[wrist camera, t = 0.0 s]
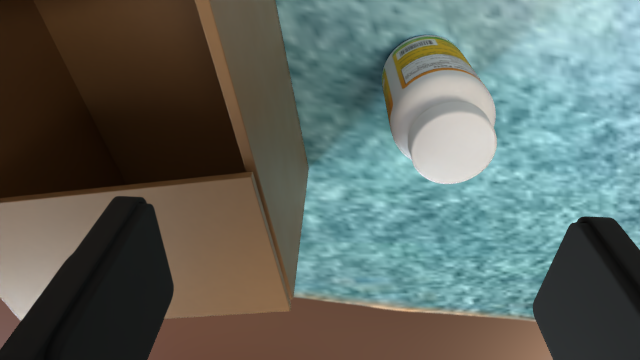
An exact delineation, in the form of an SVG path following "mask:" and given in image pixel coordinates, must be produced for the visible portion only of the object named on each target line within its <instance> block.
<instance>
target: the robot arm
mask: <svg viewBox="0 0 640 360" xmlns="http://www.w3.org/2000/svg"><path fill="white" fill-rule="evenodd" d="M173 292H174V284H173V280H172V276H171V272H170V268H169V264H168V260H167V256H166V252H165V248H164V244H163V241H162V237H161V233H160V229H159V225H158V221H157V217H156V213H155V209H154V207H153V205H152V204H147V202H146V200H145V199H144V198H143V197H131V196H116V197H114V198H113V199H112V201H111V202H110V203H109V205H108V206H107V207H106V209H105V210H104V212H103V213H102V214H101V216H100V217H99V218H98V220H97V221H96V223H95V224H94V225H93V227H92V228H91V229H90V231H89V232H88V234H87V235H86V236H85V238H84V239H83V240H82V242H81V243H80V245H79V246H78V247H77V249H76V250H75V251H74V253H73V254H72V255H70V256H69V257H68V259H67V260H66V261H65V262H64V263H63V265H62V266H61V267H60V269H59V270H58V272H57V273H56V274H55V276H54V277H53V278H52V280H51V281H50V282H49V284H48V285H47V287H46V288H45V289H44V291H43V292H42V293H41V295H40V296H39V297H38V299H37V300H36V302H35V303H34V304H33V306H32V307H31V308H30V310H29V311H28V312H27V314H26V315H25V317H24V318H23V319H22V321H21V322H20V323H19V325H18V326H17V328H16V329H15V330H14V332H13V333H12V334H11V336H10V337H9V338H8V340H7V341H6V343H5V344H4V345H3V347H2V348H1V349H0V360H147V359H148V357H149V354H150V352H151V349H152V347H153V344H154V342H155V339H156V337H157V334H158V332H159V330H160V327H161V325H162V322H163V320H164V317H165V315H166V313H167V310H168V308H169V305H170V303H171V300H172V297H173ZM533 313H534V317H535V319H536V322H537V324H538V326H539V328H540V330H541V333H542V335H543V337H544V339H545V342H546V344H547V347H548V349H549V351H550V353H551V356H552V357H553V360H640V250H639V249H638V247H637V246H636V245H635V244H634V242H633V241H632V240H631V239H630V238H629V236H628V235H627V234H626V233H625V231H624V230H623V229H622V228H621V226H620V225H619V224H618V223H617V222H616V221H615V220H614V219H612V218H607V217H581V218H580V219H578V221H577V222H576V223H572V224H571V225H570V226H569V228H568V230H567V232H566V234H565V236H564V238H563V240H562V243H561V245H560V247H559V249H558V251H557V253H556V255H555V257H554V260H553V262H552V264H551V266H550V268H549V270H548V272H547V274H546V277H545V279H544V281H543V283H542V285H541V287H540V289H539V292H538V294H537V296H536V298H535V300H534V303H533Z"/></svg>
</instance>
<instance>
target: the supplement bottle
mask: <svg viewBox="0 0 640 360" xmlns="http://www.w3.org/2000/svg"><path fill="white" fill-rule="evenodd" d="M382 87H383V93H384V97H385V102H386V107H387V113H388V118H389V123H390V128H391V132H392V135H393V139H394V141H395V143H396V145H397V146H398V148H399V150H400V151H401V152H402V153H403V154H404V155H405V156H407V157H408V158H409V159H411V160H412V162H413V165H414V167H415V168H416V170H417V171H418V172H419V173H420V174H421V175H422V176H424V177H425V178H427V179H428V180H431V181H433V182H436V183H442V184H454V183H459V182H463V181H466V180H468V179H471V178H473V177H474V176H476V175H478V174H479V173H480V172H482V171H483V170H484V169H485V168H486V167H487V166H488V164H489V163H490V162H491V160H492V158H493V156H494V154H495V151H496V146H497V137H496V133H495V130H494V128H493V127H494V123H495V116H496V113H495V105H494V102H493V99H492V97H491V95H490V93H489V91H488V90H487V88H486V87H485V85H484V84H483V83H482V81H481V80H480V78H479V77H478V76H477V74H476V73H475V71H474V70H473V69H472V67H471V66H470V64H469V63H468V61H467V60H466V59H465V57H464V56H463V54H462V53H461V52H460V50H459V49H458V48H457V47H456V46H455V45H454V44H453V43H451V42H450V41H449V40H447V39H445V38H442V37H439V36H434V35H423V36H417V37H414V38H411V39H409V40H407V41H405V42H403V43H402V44H400V45H399V46H398V47H397V48H396V49H395V50H394V51H393V52H392V53H391V54H390V56H389V57H388V59H387V61H386V63H385V65H384V68H383V73H382Z"/></svg>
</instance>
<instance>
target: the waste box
mask: <svg viewBox="0 0 640 360" xmlns="http://www.w3.org/2000/svg"><path fill="white" fill-rule="evenodd" d="M308 170H309V168H308V163H307V158H306V153H305V148H304V142H303V137H302V132H301V127H300V122H299V117H298V112H297V107H296V102H295V97H294V92H293V87H292V82H291V77H290V72H289V67H288V62H287V57H286V52H285V47H284V42H283V37H282V32H281V27H280V22H279V17H278V12H277V7H276V2H275V0H0V298H1V299H2V300H3V301H4V302H5V304H6V305H7V306H8V307H9V308H10V309H11V310H12V312H13V313H14V314H15V315H16V316H17V317H18V319H19V320H20V321H22V319H23V318H24V317H25V315H26V314H27V312H28V311H29V310H30V308H31V307H32V306H33V304H34V303H35V302H36V300H37V299H38V297H39V296H40V295H41V293H42V292H43V291H44V289H45V288H46V287H47V285H48V284H49V282H50V281H51V280H52V278H53V277H54V276H55V274H56V273H57V272H58V270H59V269H60V267H61V266H62V265H63V263H64V262H65V261H66V260H67V259H68V257H69V256H70V255H72V254H73V253H74V251H75V250H76V249H77V247H78V246H79V245H80V243H81V242H82V240H83V239H84V238H85V236H86V235H87V234H88V232H89V231H90V229H91V228H92V227H93V225H94V224H95V223H96V221H97V220H98V218H99V217H100V216H101V214H102V213H103V212H104V210H105V209H106V207H107V206H108V205H109V203H110V202H111V201H112V199H113V198H114V197H116V196H131V197H143V198H144V199H145V200H146V202H147V204H152V205H153V207H154V209H155V213H156V217H157V221H158V225H159V229H160V233H161V237H162V241H163V244H164V248H165V252H166V256H167V260H168V264H169V268H170V272H171V276H172V280H173V284H174V292H173V297H172V300H171V303H170V305H169V308H168V310H167V313H166V315H165V317H164V319H169V318H185V317H200V316H214V315H215V316H216V315H232V314H248V313H263V312H280V311H290V310H291V303H290V299H293V296H294V287H295V279H296V271H297V262H298V254H299V245H300V237H301V229H302V220H303V212H304V203H305V195H306V187H307V178H308Z"/></svg>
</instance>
